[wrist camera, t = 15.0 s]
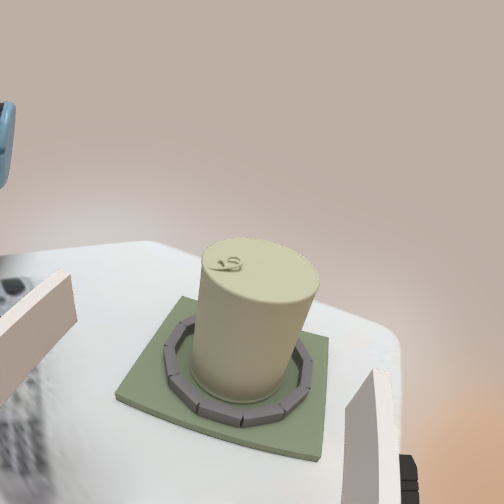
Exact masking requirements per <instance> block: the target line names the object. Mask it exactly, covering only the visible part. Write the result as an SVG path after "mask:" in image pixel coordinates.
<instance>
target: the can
mask: <svg viewBox="0 0 504 504" xmlns="http://www.w3.org/2000/svg"><path fill="white" fill-rule="evenodd" d="M201 263H202V269H201V279H200V287H199V296H198V305H197V313H196V322H195V331H194V339H193V347H192V352H191V355H190V359H189V366H190V371H191V374H192V376H193V378H194V380H195V381H196V382H197V384H198V385H199V386H200V387H201V388H202V389H203V390H204V391H205V392H207V393H208V394H210V395H211V396H213V397H215V398H217V399H220V400H222V401H225V402H229V403H234V404H251V403H256V402H260V401H263V400H265V399H267V398H269V397H270V396H272V395H273V394H274V393H275V392H276V391H277V390H278V389H279V388H280V386H281V384H282V382H283V379H284V373H285V370H286V368H287V365H288V363H289V360H290V357H291V355H292V352H293V350H294V347H295V345H296V342H297V340H298V337H299V335H300V332H301V330H302V327H303V324H304V322H305V319H306V317H307V314H308V311H309V309H310V306H311V304H312V301H313V299H314V296H315V294H316V292H317V290H318V288H319V285H320V278H319V274H318V272H317V270H316V269H315V267H314V266H313V265H312V264H311V263H310V262H309V261H308V260H307V259H306V258H304V257H303V256H302V255H300V254H299V253H297V252H295V251H293V250H291V249H289V248H287V247H284V246H282V245H279V244H276V243H273V242H270V241H265V240H260V239H253V238H232V239H226V240H222V241H219V242H216V243H214V244H212V245H211V246H209V247H208V248H207V249H206V250H205V252H204V253H203V256H202V261H201Z"/></svg>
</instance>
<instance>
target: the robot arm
mask: <svg viewBox="0 0 504 504" xmlns="http://www.w3.org/2000/svg"><path fill="white" fill-rule="evenodd" d="M15 113H16V109H15V105H14V104H13V103H11V102H7V101H4V102H3V103H0V189H1V188H2V187H3V186H4V185H5V184H6V181H7V179H8V175H9V169H10V162H11V155H12V146H13V137H14V127H15ZM76 322H77V316H76V310H75V304H74V297H73V291H72V284H71V276H70V274H68V273H66V272H64V271H61V270H59V269H58V270H57V271H55V272H54V273H53V274H51V275H50V276H49V277H48V278H46V279H45V280H44V281H43V282H42V283H40V284H39V285H38V286H37V287H35V288H34V289H33V290H32V291H31V292H29V293H28V294H27V295H26V296H25V297H23V298H22V299H21V300H20V301H19V302H18V303H16V304H15V305H14V306H13V307H12V308H11V309H9V310H8V311H7V312H6V313H5V314H4V315H3V316H2V317H1V316H0V408H1V407H2V406H3V405H4V403H5V402H6V401H7V400H8V398H9V397H10V396H11V395H12V394H13V392H14V391H15V390H16V389H17V388H18V386H19V385H20V384H21V383H22V382H23V381H24V379H25V378H26V377H27V376H28V375H29V374H30V372H31V371H32V370H33V369H34V368H35V367H36V366H37V364H38V363H39V362H40V361H41V360H42V359H43V358H44V357H45V355H46V354H47V353H48V352H49V351H50V350H51V349H52V348H53V347H54V345H55V344H56V343H57V342H58V341H59V340H60V339H61V338H62V337H63V336H64V335H65V334H66V332H67V331H68V330H69V329H70V328H71V327H72V326H73V325H74V324H75V323H76ZM417 480H418V474H417V466H416V464H415V462H414V460H413V458H412V456H411V455H401V454H399V452H398V439H397V429H396V419H395V410H394V402H393V394H392V387H391V380H390V373H389V372H385V371H380V370H375V369H372V371H371V372H370V374H369V375H368V377H367V378H366V380H365V381H364V383H363V384H362V386H361V387H360V389H359V390H358V391H357V393H356V394H355V396H354V397H353V398H352V400H351V401H350V403H349V404H348V405H347V407H346V408H345V444H344V466H343V483H342V496H341V504H419V492H418V490H419V487H418V482H417Z"/></svg>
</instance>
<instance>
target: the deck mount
mask: <svg viewBox="0 0 504 504" xmlns="http://www.w3.org/2000/svg"><path fill="white" fill-rule="evenodd" d="M197 305H198V301H197V300H194V299H190V298H187V297H184V296H182V297H181V298H180V299H179V301H178V302H177V304H176V305H175V306H174V308H173V309H172V311H171V312H170V313H169V315H168V316H167V318H166V319H165V321H164V322H163V323H162V325H161V326H160V328H159V329H158V331H157V332H156V333H155V335H154V336H153V338H152V339H151V341H150V342H149V343H148V345H147V346H146V348H145V349H144V351H143V352H142V354H141V355H140V357H139V358H138V359H137V361H136V362H135V364H134V365H133V367H132V368H131V370H130V371H129V373H128V374H127V376H126V377H125V378H124V380H123V381H122V383H121V384H120V386H119V387H118V389H117V390H116V392H115V396H116V399H117V400H119V401H121V402H123V403H126V404H128V405H130V406H132V407H135V408H137V409H139V410H142V411H144V412H146V413H149V414H151V415H154V416H156V417H159V418H161V419H164V420H166V421H169V422H172V423H174V424H177V425H180V426H182V427H185V428H188V429H191V430H194V431H197V432H200V433H203V434H206V435H209V436H212V437H215V438H219V439H222V440H225V441H229V442H232V443H236V444H239V445H243V446H247V447H250V448H254V449H258V450H262V451H267V452H271V453H275V454H280V455H284V456H289V457H294V458H299V459H305V460H310V461H316V462H317V461H318V460H319V459H320V458H321V453H322V443H323V431H324V419H325V405H326V388H327V368H328V340H329V338H328V337H324V336H320V335H316V334H312V333H308V332H304V331H301V332H300V335H299V337H298V340H297V342H296V345H295V347H294V350H293V352H292V355H291V357H290V360H289V363H288V365H287V368H286V370H285V373H284V379H283V382H282V384H281V386H280V388H279V389H278V390H277V391H276V392H275V393H274V394H273V395H272V396H270V397H269V398H267V399H265V400H263V401H260V402H256V403H251V404H234V403H229V402H225V401H222V400H220V399H217V398H215V397H213V396H211V395H210V394H208V393H207V392H205V391H204V390H203V389H202V388H201V387H200V386H199V385H198V384H197V382H196V381H195V380H194V378H193V376H192V374H191V371H190V366H189V359H190V355H191V352H192V347H193V339H194V331H195V322H196V313H197Z"/></svg>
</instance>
